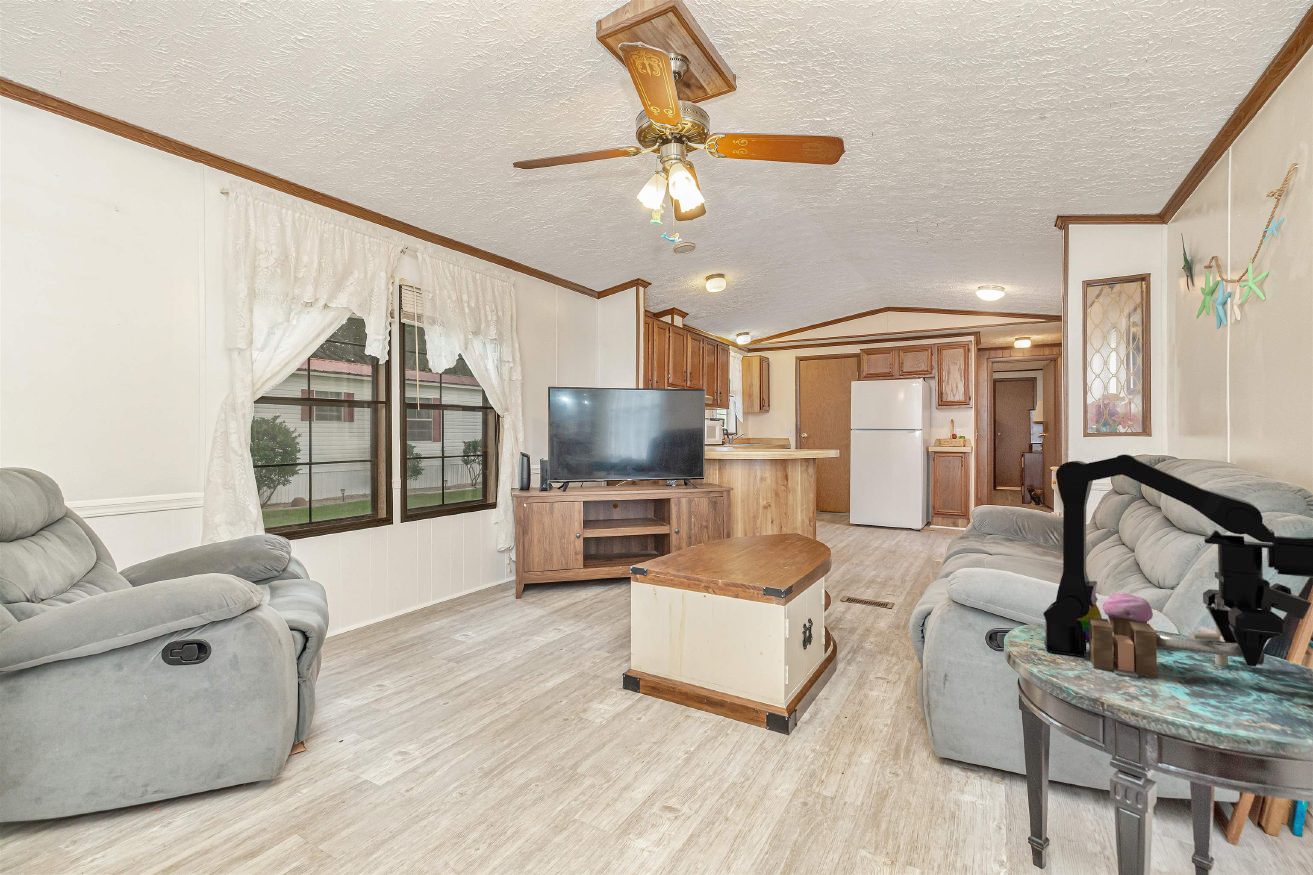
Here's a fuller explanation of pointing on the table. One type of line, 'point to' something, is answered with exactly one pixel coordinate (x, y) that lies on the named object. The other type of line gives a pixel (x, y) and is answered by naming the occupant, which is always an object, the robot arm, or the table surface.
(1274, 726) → the table surface
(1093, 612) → the decorative egg
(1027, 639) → the table surface
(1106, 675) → the table surface
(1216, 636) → the pipe connector
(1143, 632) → the pillow blocks
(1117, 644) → the spacer
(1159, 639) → the shaft
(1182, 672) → the table surface
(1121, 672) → the mat
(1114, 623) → the cupcake
